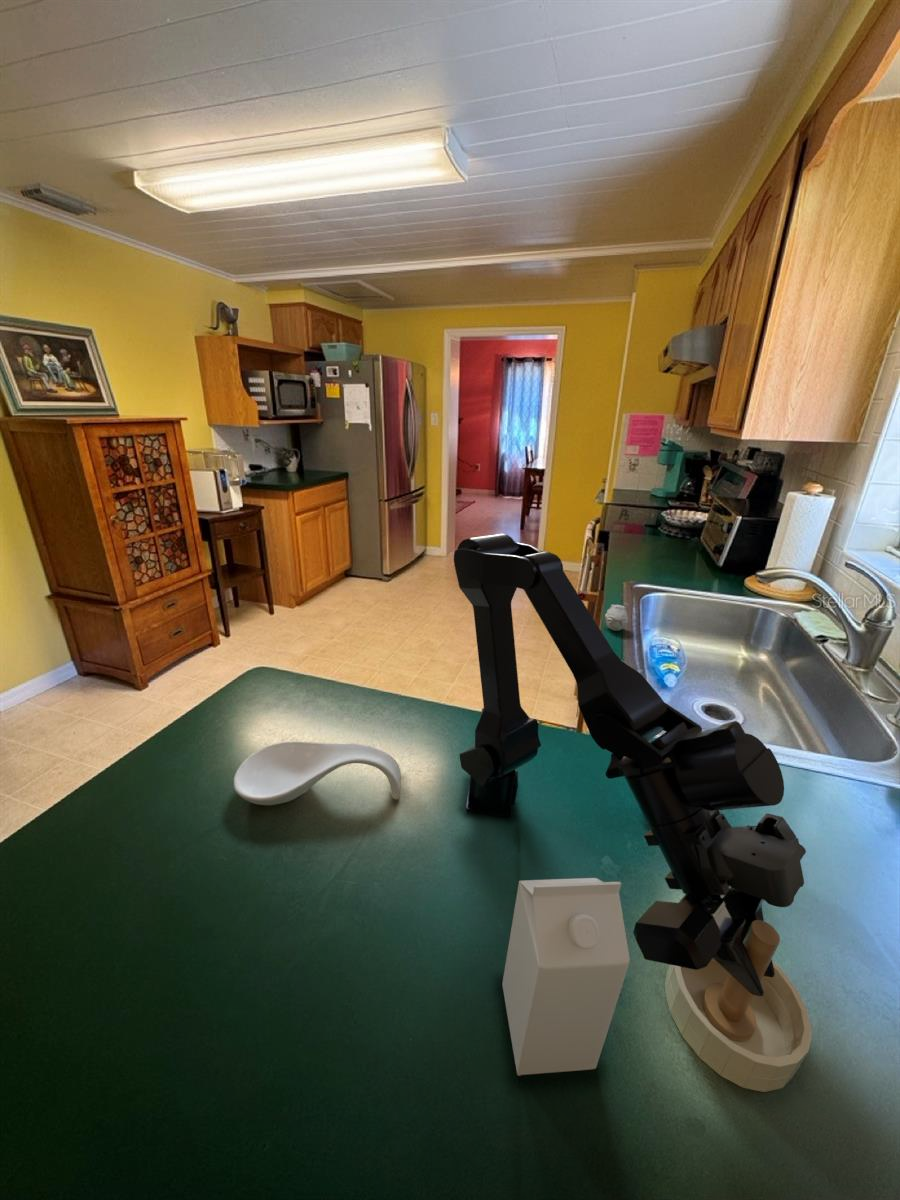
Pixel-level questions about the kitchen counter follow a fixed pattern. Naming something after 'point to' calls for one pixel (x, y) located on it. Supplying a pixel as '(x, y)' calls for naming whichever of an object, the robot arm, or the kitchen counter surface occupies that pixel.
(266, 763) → the spoon rest
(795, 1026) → the bowl
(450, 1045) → the kitchen counter surface
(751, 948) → the wooden pestle
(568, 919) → the milk carton
